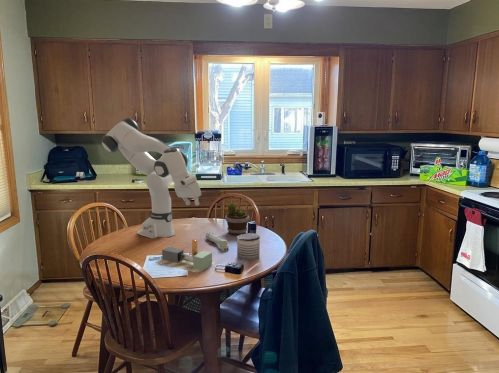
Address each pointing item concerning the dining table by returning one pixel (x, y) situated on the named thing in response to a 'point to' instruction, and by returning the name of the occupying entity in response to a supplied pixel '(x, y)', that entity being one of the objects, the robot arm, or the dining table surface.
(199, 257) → the socket block
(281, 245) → the dining table surface
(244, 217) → the flowerpot
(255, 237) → the can
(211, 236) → the grey-green long bar
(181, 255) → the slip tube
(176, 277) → the dining table surface
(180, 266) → the base board
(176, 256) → the dark grey rectangular block
